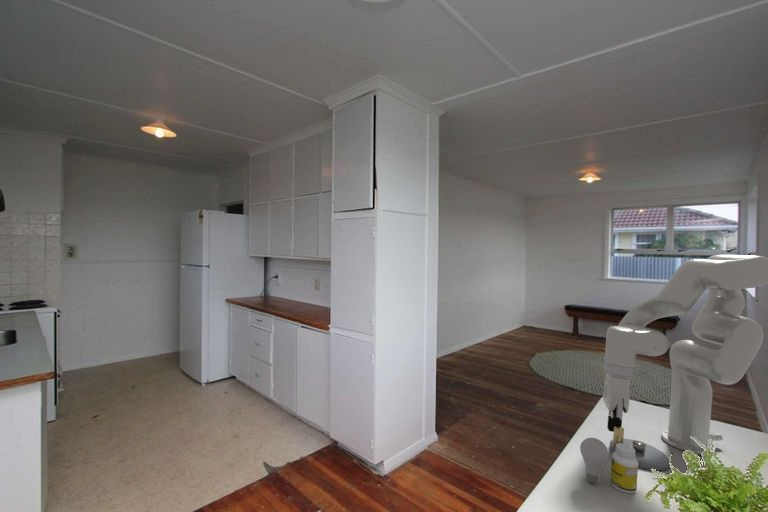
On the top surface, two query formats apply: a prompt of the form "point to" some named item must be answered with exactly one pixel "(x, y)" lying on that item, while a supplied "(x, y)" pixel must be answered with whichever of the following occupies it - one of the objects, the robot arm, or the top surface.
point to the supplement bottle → (624, 468)
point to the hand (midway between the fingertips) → (614, 430)
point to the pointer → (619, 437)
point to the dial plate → (647, 457)
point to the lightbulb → (594, 457)
